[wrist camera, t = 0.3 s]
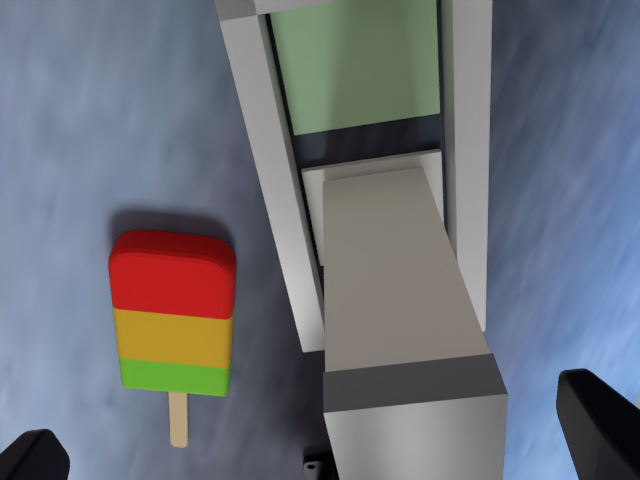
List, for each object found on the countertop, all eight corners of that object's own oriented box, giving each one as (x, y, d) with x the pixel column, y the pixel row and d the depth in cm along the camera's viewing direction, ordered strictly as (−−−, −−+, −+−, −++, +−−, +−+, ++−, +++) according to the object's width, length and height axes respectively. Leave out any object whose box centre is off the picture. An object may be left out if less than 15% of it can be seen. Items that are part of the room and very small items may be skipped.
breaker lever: (428, 249, 23) (501, 495, 14) (335, 261, 24) (346, 509, 14) (423, 165, 21) (507, 393, 12) (320, 180, 21) (323, 413, 12)
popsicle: (239, 234, 24) (234, 259, 22) (228, 435, 32) (223, 464, 31) (115, 220, 24) (100, 245, 22) (136, 427, 32) (127, 456, 30)
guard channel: (474, 302, 26) (485, 331, 24) (303, 322, 26) (303, 352, 25) (476, -77, 17) (494, -72, 15) (219, -30, 18) (208, -21, 16)
